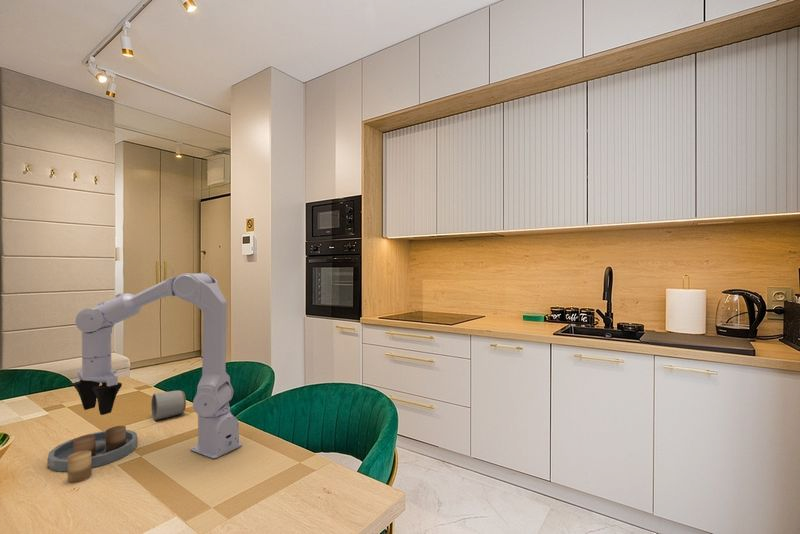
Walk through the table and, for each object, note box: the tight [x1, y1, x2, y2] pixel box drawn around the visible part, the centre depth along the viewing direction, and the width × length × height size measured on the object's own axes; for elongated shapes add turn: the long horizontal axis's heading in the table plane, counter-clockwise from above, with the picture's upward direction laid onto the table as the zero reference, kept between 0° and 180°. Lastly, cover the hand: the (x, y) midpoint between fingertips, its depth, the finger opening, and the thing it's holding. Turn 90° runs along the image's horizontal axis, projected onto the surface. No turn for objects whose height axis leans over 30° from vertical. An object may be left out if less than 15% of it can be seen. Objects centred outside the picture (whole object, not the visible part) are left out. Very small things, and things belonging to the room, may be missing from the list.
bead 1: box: [73, 434, 96, 457], centre depth 91 cm, size 4×4×5 cm
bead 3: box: [105, 425, 127, 453], centre depth 96 cm, size 4×4×5 cm
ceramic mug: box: [150, 390, 187, 421], centre depth 121 cm, size 11×8×8 cm
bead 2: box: [67, 450, 93, 484], centre depth 85 cm, size 4×4×5 cm
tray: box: [47, 429, 139, 473], centre depth 96 cm, size 17×17×2 cm
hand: (97, 411), depth 97 cm, fingers open, 7 cm apart
